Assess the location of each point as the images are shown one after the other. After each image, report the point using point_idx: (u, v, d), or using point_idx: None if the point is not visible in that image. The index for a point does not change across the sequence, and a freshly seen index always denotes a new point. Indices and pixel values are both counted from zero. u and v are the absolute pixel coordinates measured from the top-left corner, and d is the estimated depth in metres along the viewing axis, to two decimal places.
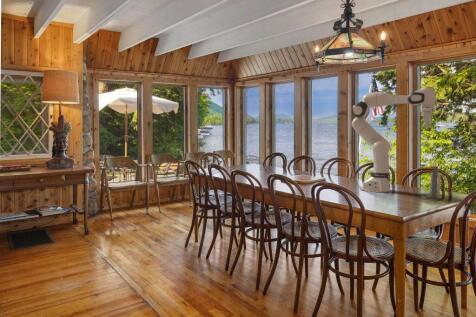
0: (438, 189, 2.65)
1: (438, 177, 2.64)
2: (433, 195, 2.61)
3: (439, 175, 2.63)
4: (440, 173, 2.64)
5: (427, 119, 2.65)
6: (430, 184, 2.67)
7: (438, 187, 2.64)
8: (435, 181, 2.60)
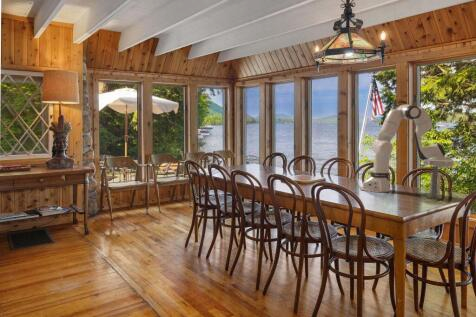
0: (438, 189, 2.65)
1: (438, 177, 2.64)
2: (433, 195, 2.61)
3: (439, 175, 2.63)
4: (440, 173, 2.64)
5: (453, 164, 2.78)
6: (430, 184, 2.67)
7: (438, 187, 2.64)
8: (435, 181, 2.60)
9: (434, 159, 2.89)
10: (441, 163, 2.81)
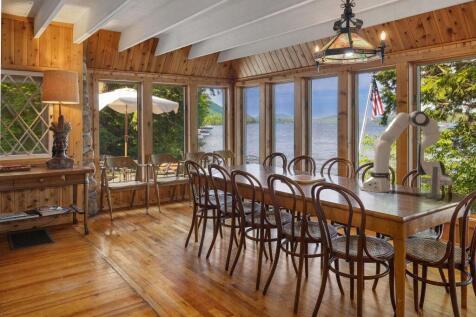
0: (438, 189, 2.65)
1: (438, 177, 2.64)
2: (433, 195, 2.61)
3: (439, 175, 2.64)
4: (440, 173, 2.64)
5: (451, 183, 2.67)
6: (430, 184, 2.67)
7: (438, 187, 2.64)
8: (435, 181, 2.60)
9: None
10: None
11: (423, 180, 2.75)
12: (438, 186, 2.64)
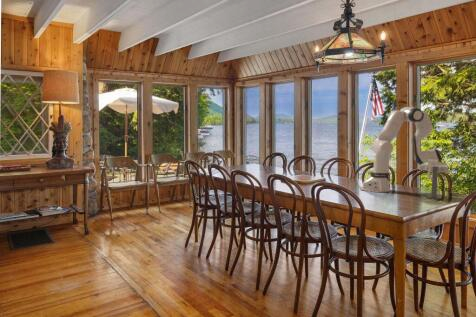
0: None
1: (435, 163, 2.78)
2: (433, 195, 2.61)
3: (436, 162, 2.77)
4: (437, 160, 2.77)
5: (448, 169, 2.81)
6: (428, 170, 2.81)
7: None
8: (435, 181, 2.60)
9: None
10: None
11: (421, 167, 2.88)
12: None
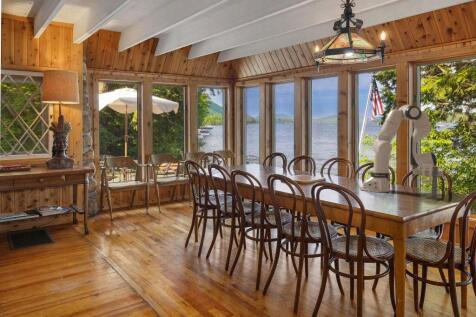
0: (430, 179, 2.71)
1: (429, 168, 2.71)
2: (433, 195, 2.61)
3: (430, 166, 2.70)
4: (431, 164, 2.71)
5: None
6: (422, 175, 2.74)
7: (430, 177, 2.71)
8: (435, 181, 2.60)
9: None
10: None
11: (415, 171, 2.81)
12: (430, 176, 2.71)
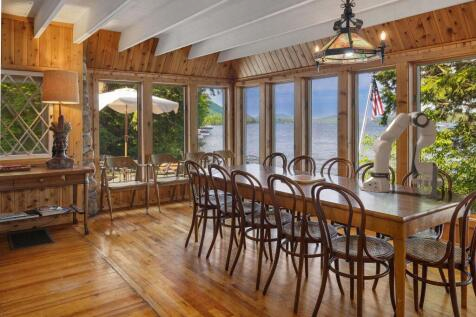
0: (429, 190, 2.72)
1: (429, 179, 2.72)
2: (433, 195, 2.61)
3: (430, 177, 2.71)
4: None
5: None
6: (421, 185, 2.75)
7: (429, 188, 2.72)
8: (435, 181, 2.60)
9: None
10: None
11: (415, 181, 2.82)
12: (429, 187, 2.72)
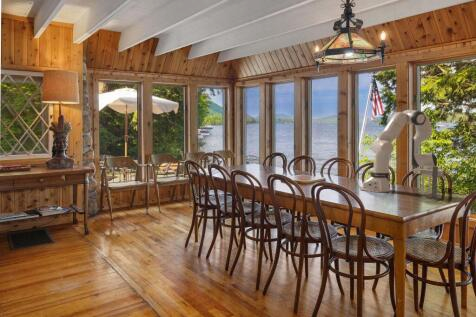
0: (429, 190, 2.72)
1: (429, 179, 2.72)
2: (433, 195, 2.61)
3: (430, 177, 2.71)
4: None
5: None
6: (421, 186, 2.75)
7: (429, 188, 2.72)
8: (435, 181, 2.60)
9: (424, 168, 2.96)
10: (431, 173, 2.88)
11: (416, 170, 2.93)
12: (429, 187, 2.72)
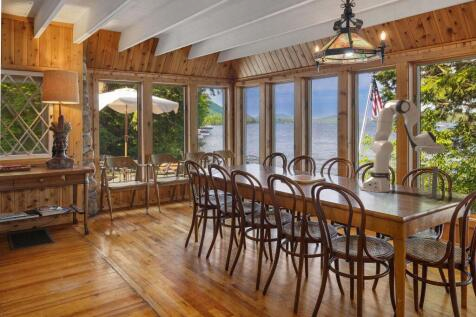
0: (429, 190, 2.72)
1: (429, 179, 2.72)
2: (433, 195, 2.61)
3: (430, 177, 2.71)
4: None
5: (444, 150, 2.84)
6: (421, 186, 2.75)
7: (429, 188, 2.72)
8: (435, 181, 2.60)
9: None
10: (433, 149, 2.87)
11: (418, 148, 2.91)
12: (429, 187, 2.72)
